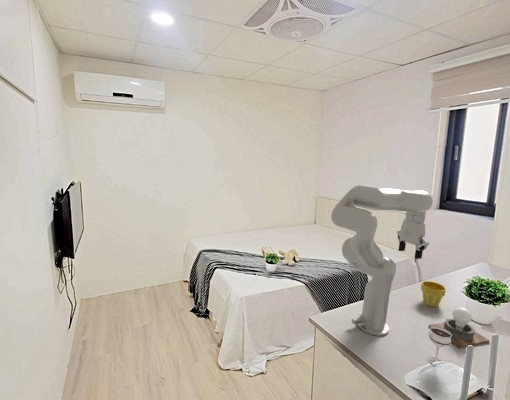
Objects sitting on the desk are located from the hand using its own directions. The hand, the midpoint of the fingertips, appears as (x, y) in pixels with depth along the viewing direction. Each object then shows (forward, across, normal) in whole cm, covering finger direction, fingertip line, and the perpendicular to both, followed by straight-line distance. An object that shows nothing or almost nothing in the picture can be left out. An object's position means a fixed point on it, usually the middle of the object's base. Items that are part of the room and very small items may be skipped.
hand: (409, 254), depth 133 cm
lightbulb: (+28, +20, +11) cm, 36 cm away
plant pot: (+28, -3, +21) cm, 36 cm away
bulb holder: (+28, +20, +11) cm, 36 cm away
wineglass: (+28, +31, -13) cm, 44 cm away
